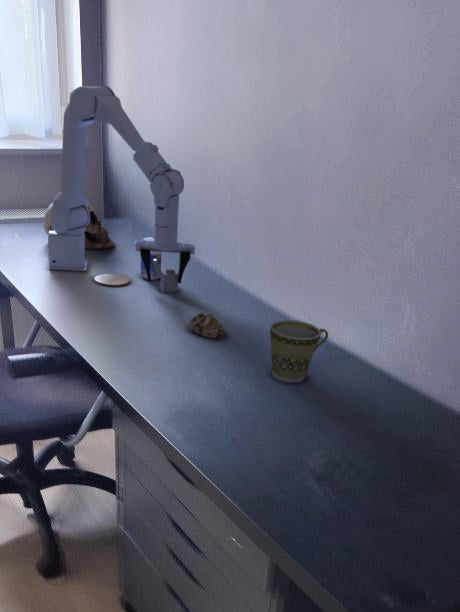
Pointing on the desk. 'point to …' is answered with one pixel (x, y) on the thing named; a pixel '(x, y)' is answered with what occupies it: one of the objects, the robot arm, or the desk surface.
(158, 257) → the pill bottle
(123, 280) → the coaster
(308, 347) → the ceramic cup
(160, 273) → the lighter
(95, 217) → the brown skull
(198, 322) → the mineral rock
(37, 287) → the desk surface
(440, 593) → the desk surface
